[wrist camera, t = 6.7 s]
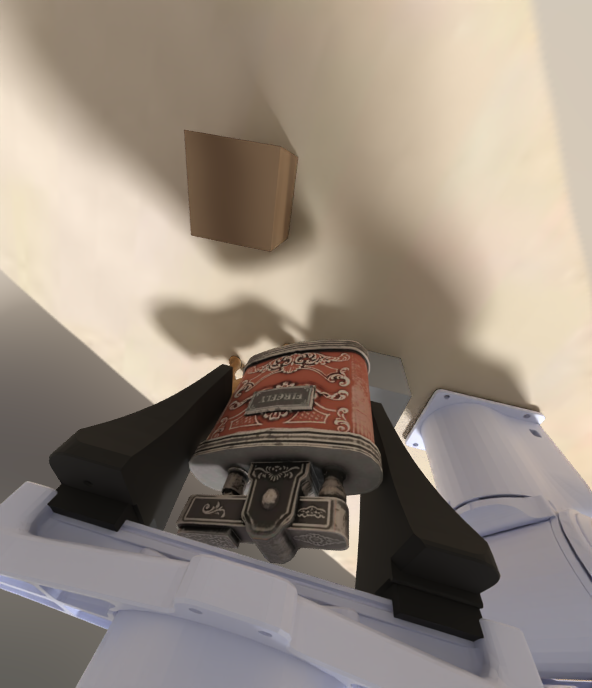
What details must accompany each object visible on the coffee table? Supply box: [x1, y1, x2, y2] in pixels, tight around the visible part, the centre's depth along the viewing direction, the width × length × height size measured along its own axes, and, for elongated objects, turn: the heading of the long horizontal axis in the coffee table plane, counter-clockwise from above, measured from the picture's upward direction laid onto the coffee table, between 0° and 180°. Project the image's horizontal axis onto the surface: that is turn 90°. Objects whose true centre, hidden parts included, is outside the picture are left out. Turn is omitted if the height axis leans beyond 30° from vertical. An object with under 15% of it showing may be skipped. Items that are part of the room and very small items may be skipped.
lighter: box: [176, 340, 383, 564], centre depth 12 cm, size 8×3×10 cm, turn 107°
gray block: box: [367, 351, 412, 427], centre depth 22 cm, size 5×5×5 cm
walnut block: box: [184, 130, 298, 252], centre depth 16 cm, size 5×5×5 cm
